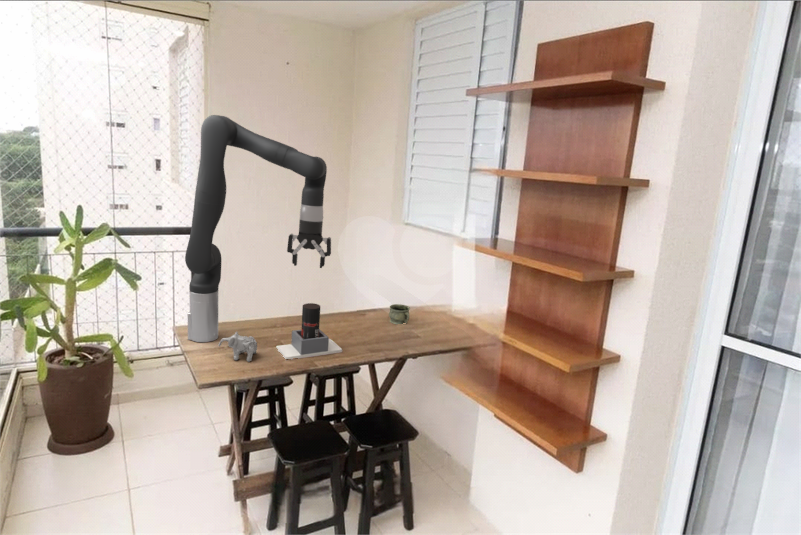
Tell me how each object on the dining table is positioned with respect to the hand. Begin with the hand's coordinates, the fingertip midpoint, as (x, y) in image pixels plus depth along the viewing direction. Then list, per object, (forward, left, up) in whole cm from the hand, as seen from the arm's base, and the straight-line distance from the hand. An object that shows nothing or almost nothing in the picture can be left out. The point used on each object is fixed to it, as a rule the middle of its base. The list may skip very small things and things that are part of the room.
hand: (308, 266), depth 169 cm
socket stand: (+2, -3, -29) cm, 29 cm away
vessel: (+35, +32, -29) cm, 56 cm away
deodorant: (+2, -3, -28) cm, 28 cm away
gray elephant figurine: (-20, -12, -29) cm, 37 cm away
